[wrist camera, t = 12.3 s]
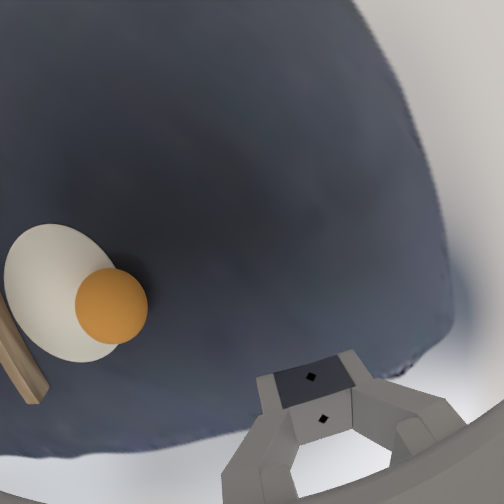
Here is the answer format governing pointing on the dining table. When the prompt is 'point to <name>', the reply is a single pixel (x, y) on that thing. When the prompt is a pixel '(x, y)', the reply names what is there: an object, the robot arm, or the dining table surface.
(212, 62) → the dining table surface
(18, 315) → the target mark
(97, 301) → the ball
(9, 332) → the bar
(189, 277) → the dining table surface
